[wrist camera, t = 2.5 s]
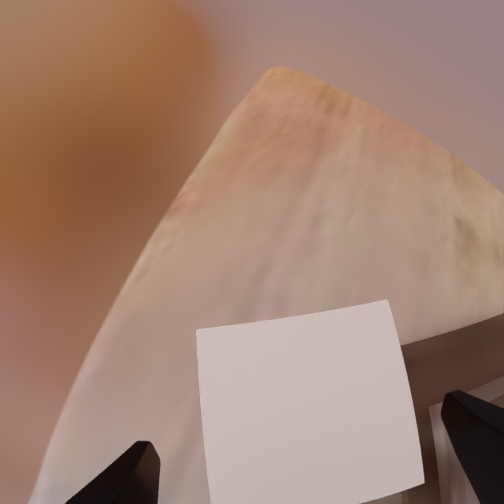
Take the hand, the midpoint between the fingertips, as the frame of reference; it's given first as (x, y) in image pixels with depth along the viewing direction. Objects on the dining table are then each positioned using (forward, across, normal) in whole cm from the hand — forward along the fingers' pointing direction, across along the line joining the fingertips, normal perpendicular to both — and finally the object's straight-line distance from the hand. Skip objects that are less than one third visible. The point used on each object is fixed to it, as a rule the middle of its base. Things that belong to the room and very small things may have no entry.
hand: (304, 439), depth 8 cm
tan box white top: (+6, 0, +6) cm, 9 cm away
